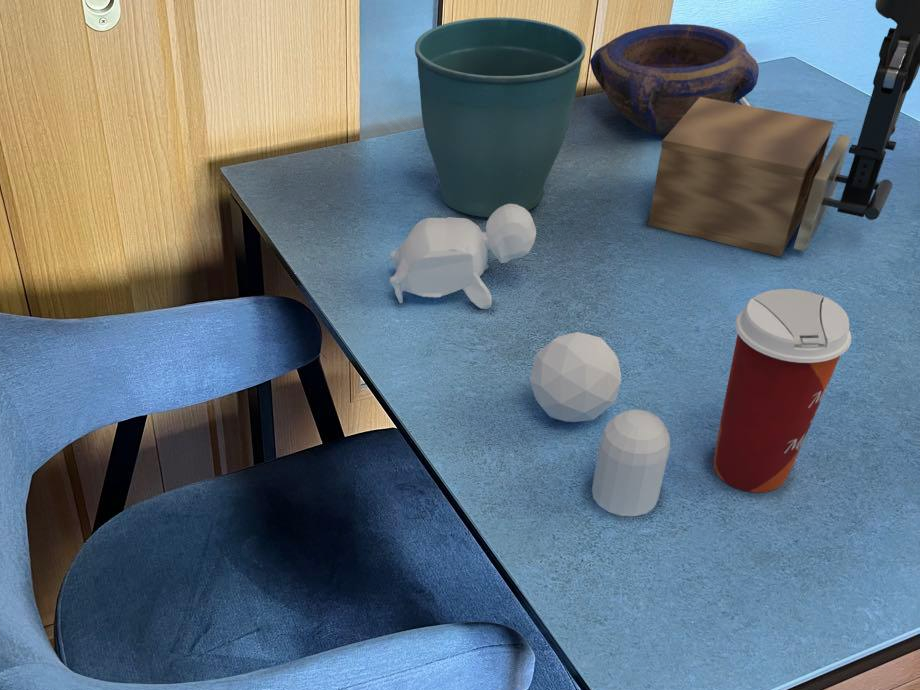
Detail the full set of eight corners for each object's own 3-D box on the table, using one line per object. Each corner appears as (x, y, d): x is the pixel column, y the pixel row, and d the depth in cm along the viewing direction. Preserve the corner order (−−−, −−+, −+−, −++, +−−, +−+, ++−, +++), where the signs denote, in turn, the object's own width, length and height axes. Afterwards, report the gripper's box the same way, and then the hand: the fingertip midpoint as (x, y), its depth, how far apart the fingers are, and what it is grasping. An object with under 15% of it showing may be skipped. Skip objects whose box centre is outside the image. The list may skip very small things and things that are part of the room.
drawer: (882, 216, 114) (907, 146, 108) (860, 264, 107) (885, 192, 101) (711, 179, 121) (725, 112, 115) (679, 222, 114) (693, 152, 108)
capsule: (672, 501, 83) (691, 423, 78) (620, 525, 81) (636, 447, 76) (628, 464, 87) (644, 387, 81) (578, 486, 85) (590, 409, 79)
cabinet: (809, 206, 118) (834, 121, 111) (780, 257, 110) (805, 169, 103) (683, 179, 123) (700, 96, 116) (647, 225, 115) (662, 139, 109)
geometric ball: (582, 448, 92) (603, 426, 84) (506, 402, 93) (520, 375, 85) (625, 379, 93) (650, 351, 85) (550, 333, 94) (567, 301, 86)
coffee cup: (814, 501, 83) (873, 344, 72) (712, 503, 83) (756, 347, 72) (784, 435, 89) (835, 281, 78) (689, 437, 89) (726, 284, 78)
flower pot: (440, 153, 129) (443, 8, 118) (582, 172, 125) (600, 23, 113) (393, 220, 117) (392, 66, 105) (549, 243, 113) (565, 85, 101)
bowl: (574, 101, 140) (583, 23, 133) (700, 89, 142) (715, 12, 135) (620, 158, 128) (632, 75, 121) (756, 144, 130) (776, 62, 123)
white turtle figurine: (411, 335, 106) (552, 287, 102) (379, 267, 101) (527, 213, 96) (410, 291, 112) (544, 244, 108) (380, 224, 107) (520, 172, 102)
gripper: (900, -57, 98) (829, 179, 115) (873, -18, 90) (800, 230, 107) (985, -47, 96) (900, 193, 112) (965, -5, 88) (876, 247, 104)
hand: (851, 211), depth 110 cm, fingers closed
